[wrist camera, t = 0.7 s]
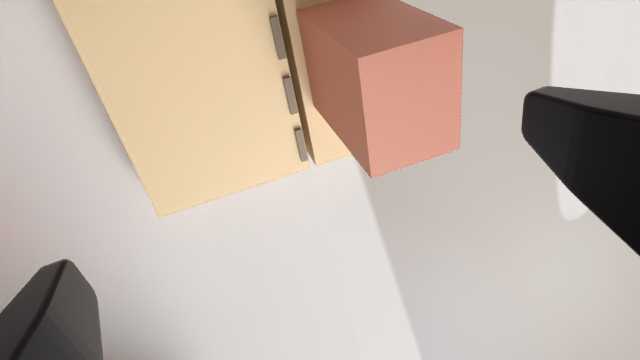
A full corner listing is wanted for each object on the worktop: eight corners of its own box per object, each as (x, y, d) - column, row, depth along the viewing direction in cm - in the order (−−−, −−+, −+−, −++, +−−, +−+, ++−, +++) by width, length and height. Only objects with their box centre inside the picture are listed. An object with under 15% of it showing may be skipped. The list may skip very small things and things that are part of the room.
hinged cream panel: (295, 144, 23) (311, 170, 21) (157, 188, 21) (159, 220, 19) (245, -81, 17) (259, -77, 15) (50, -39, 16) (37, -28, 14)
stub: (374, 120, 23) (467, 213, 17) (301, 143, 23) (368, 249, 16) (351, -105, 18) (481, -100, 11) (252, -83, 17) (326, -64, 10)
